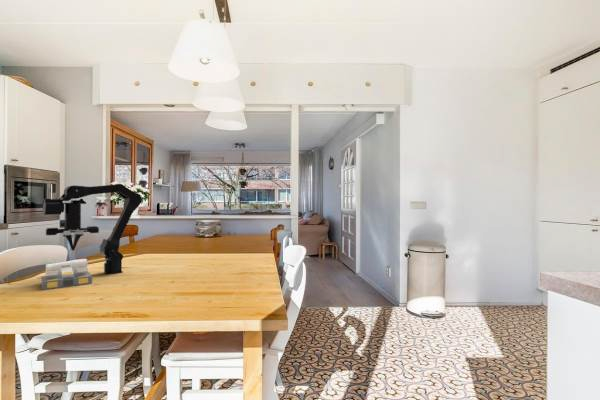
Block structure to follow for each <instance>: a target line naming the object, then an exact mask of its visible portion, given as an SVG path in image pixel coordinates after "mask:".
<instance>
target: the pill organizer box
mask: <svg viewBox="0 0 600 400" xmlns="http://www.w3.org/2000/svg"><path fill="white" fill-rule="evenodd" d="M40 279H41V280H40V281H41V282H40V286H41V290H42V291H45V290H51V289H59V288H60V289H61V288H67V287H69V288H70V287H73V286H74V287H75V286H82V285H84V286H85V285H90V284H93V275H92V274H91V273H90V272H89V270H88V271H85V272H76V273H73V277H65V278H62V274H58V275H49V276H46V275H42V276H40Z"/></svg>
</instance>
